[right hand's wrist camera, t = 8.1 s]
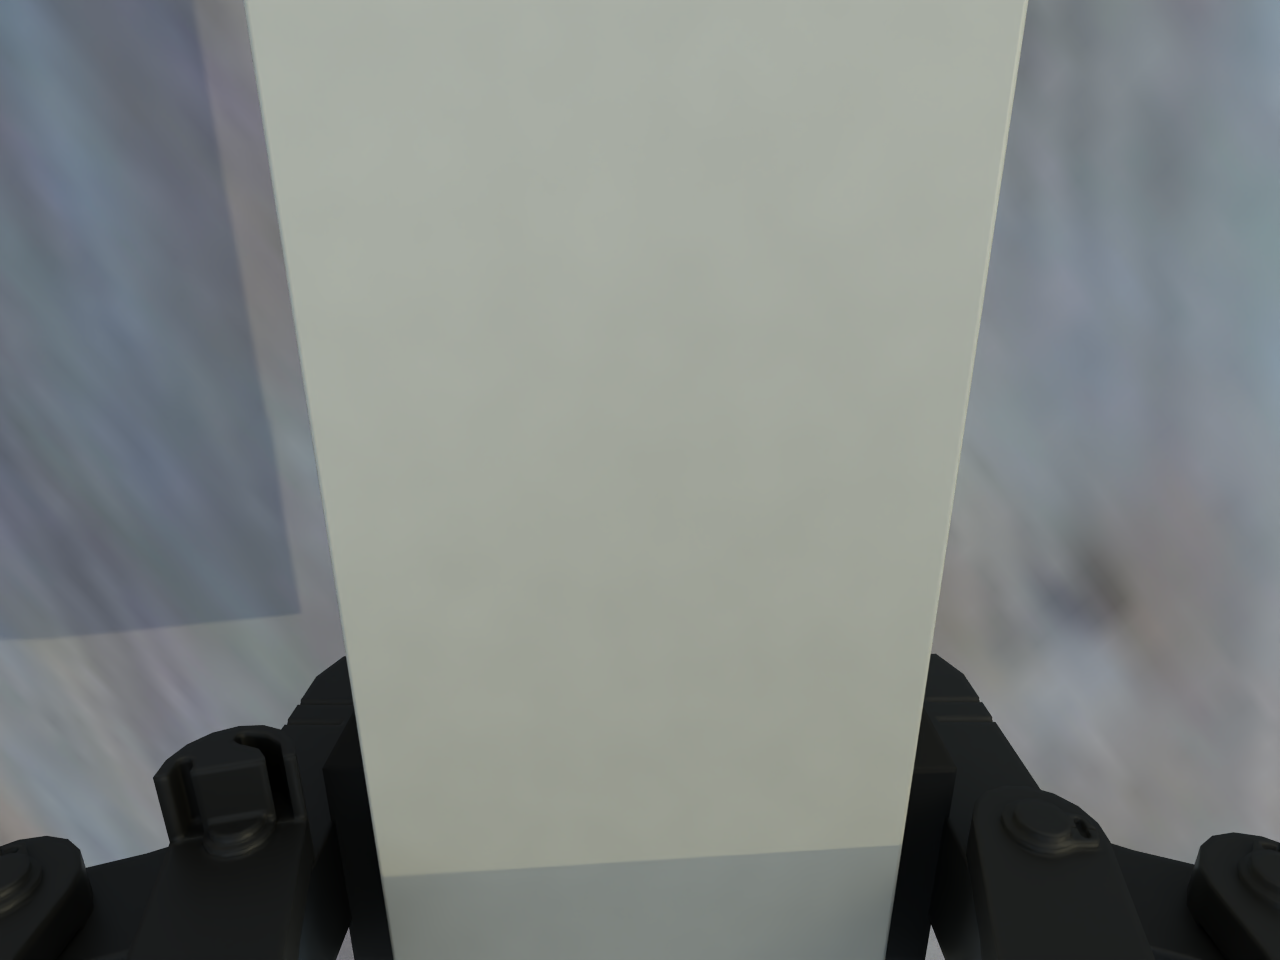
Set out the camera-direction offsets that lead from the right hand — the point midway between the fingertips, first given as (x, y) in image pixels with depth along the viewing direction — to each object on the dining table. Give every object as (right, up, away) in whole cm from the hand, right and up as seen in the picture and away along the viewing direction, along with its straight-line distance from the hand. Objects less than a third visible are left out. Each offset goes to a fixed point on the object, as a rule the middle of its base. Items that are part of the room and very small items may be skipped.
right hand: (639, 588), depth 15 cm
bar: (0, +26, -9) cm, 28 cm away
